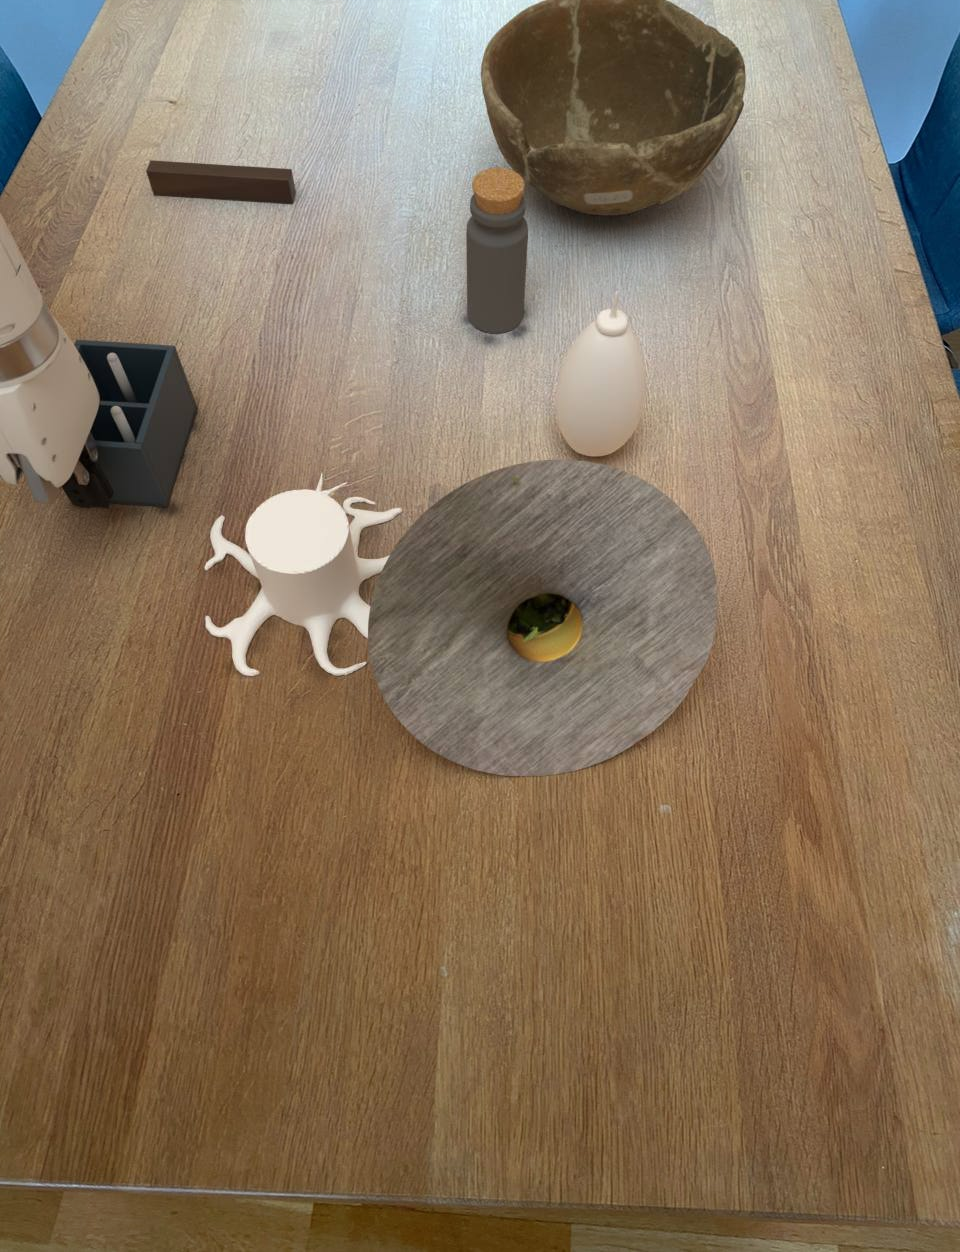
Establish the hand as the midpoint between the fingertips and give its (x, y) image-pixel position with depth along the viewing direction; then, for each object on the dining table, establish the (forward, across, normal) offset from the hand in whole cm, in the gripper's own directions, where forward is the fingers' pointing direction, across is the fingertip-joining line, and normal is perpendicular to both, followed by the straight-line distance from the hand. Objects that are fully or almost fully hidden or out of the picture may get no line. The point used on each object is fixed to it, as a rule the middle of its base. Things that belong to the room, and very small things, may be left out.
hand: (94, 499), depth 80 cm
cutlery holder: (+4, -9, 0) cm, 9 cm away
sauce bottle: (+5, -14, +42) cm, 45 cm away
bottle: (+4, -30, +32) cm, 44 cm away
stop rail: (+4, -47, -1) cm, 47 cm away
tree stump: (+4, +4, +19) cm, 20 cm away
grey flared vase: (+5, +10, +39) cm, 40 cm away
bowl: (+4, -51, +42) cm, 66 cm away
